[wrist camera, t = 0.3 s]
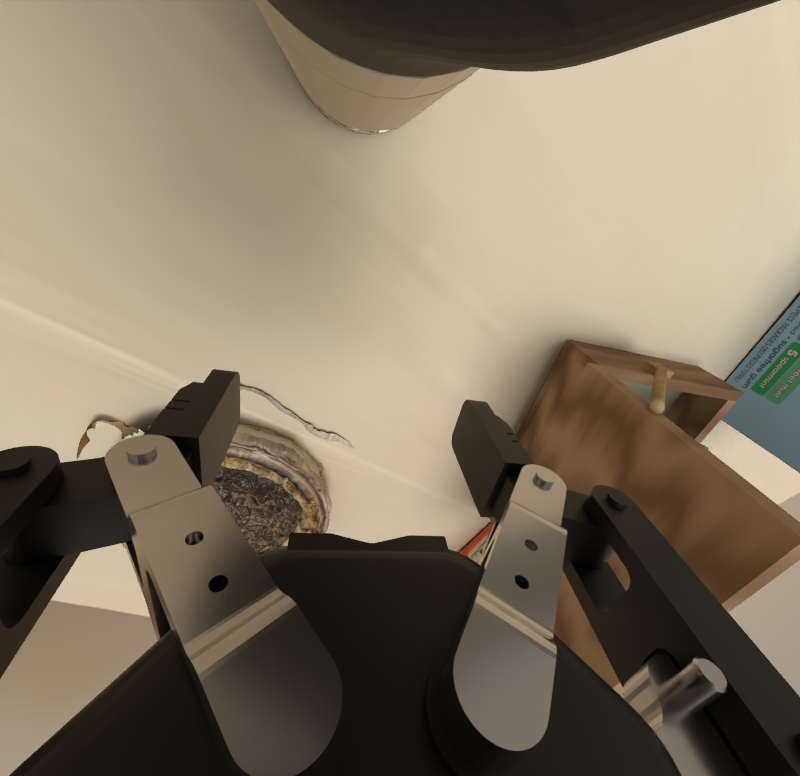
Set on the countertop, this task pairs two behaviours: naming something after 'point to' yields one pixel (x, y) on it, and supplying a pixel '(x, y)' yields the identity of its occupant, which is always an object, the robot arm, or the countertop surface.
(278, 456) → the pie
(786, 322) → the gum box
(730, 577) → the storage box
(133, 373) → the countertop surface
